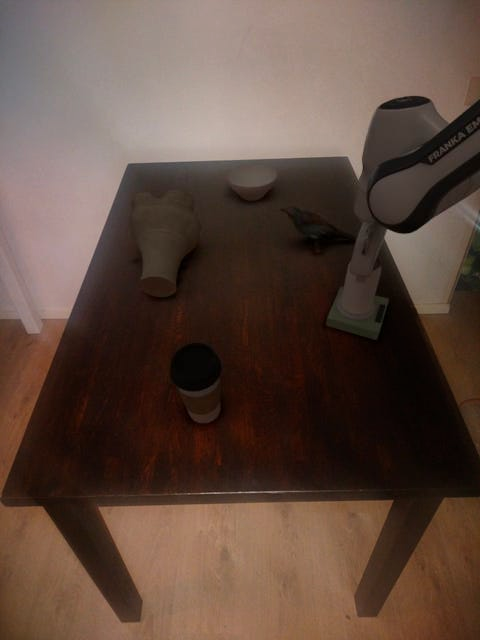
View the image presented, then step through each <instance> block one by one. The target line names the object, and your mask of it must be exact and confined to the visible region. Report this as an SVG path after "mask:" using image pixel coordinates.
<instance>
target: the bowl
mask: <svg viewBox="0 0 480 640" xmlns="http://www.w3.org/2000/svg"><path fill="white" fill-rule="evenodd" d="M277 178H278V171H277V170H276V169H275V168H274V167H273V166H270V165H268V164H264V163H253V162H252V163H243V164H239V165H236V166H234V167H232V168H231V169H229V171H227V173H226V180H227V183H228V185H229V186H230V188H231V189H232V190H233V191H234V192H235V193H236V194H237V195H239V196H240V198H242V200H245V201H250V202H254V201H259V200H261V199H262V198H264V196H265V195H266V194H267V192H269V191H270V190H272V188H273V186H274V185H275V184H276V182H277Z"/></svg>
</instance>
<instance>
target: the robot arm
mask: <svg viewBox="0 0 480 640" xmlns="http://www.w3.org/2000/svg"><path fill="white" fill-rule="evenodd" d="M367 127H368V128H367V130H366V135H365V139H364V145H363V150H362V155H361V164H362V165H361V166H362V170H361V173H360V175H359V177H358V179H357V184H356V190H355V196H354V202H353V207H352V210H353V213H354V214H355V216H356V217H357V218H358V220H359V222H360V223H361V227H360V229H359V231H358V234H357V236H356V237H357V239H356V240H355V243H354V247H353V252H352V256H351V260H350V262H351V264H350V273H351V274H354V275H356V281H357V282H359V283H365V281H366V278H367V277H369V276H370V275H371V272H372V270H373V267H374V264H375V262H376V259H377V257H378V256H379V253H380V250H381V248H382V245H383V242H384V240H385V237H386V234H387V231H391V232H393V233H396V234H400V235H406V234H407V235H409V234H411V233H415V232H416V231H418V230H419V229H421V228H422V227H424V226H425V225H426V224H428V223H430V221H431V220H432V219H433V220H434V218H436V217H437V216H439V215H440V214H442V213H444V212H446V211H448V210H449V209H451V208H452V207H454V206H455V205H457V204H458V203H461V202H462V201H464V200H466V199H467V198H468V197H470V196H471V195H472V194H474V193H476V192H477V191H478V190H480V98H479V99H478V100H476V101H475V102H474V103H473V104H472V105H470V107H468V108H467V109H466V110H464V111H463V112H462V113H460V115H458V116H457V117H456V118H455V119H453V120H452V121H451V122H448V121H447V120H446V119H445V118H444V117H443V116H442V115H441V114H440V113H439V112H438V110H437V108H436V106H435V103H434V101H432V99H430V98H428V97H426V96H423V95H406V96H401V97H395V98H392V99H390V100H387V101H385V102H383V103H381V104H379V105H378V106H377V107H376V109H375V110H374V112H373V114H372V116H371V118H370V121H369V124H368V126H367Z"/></svg>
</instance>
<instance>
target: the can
mask: <svg viewBox="0 0 480 640" xmlns="http://www.w3.org/2000/svg"><path fill="white" fill-rule="evenodd" d="M350 264H351V261H349V263H348V265H347V269H346V275H345V279H344V284H343V287H344V289H343V294H342V299H341V305H342V307H343V308H344V309H345V310H346V311H347V312H348V313H351V314H354V315H361V314H365V313H367V312H368V311H369V310H370V309H371V306H372V303H373V300H374V296H375V295H376V293H377V289H378V285H379V281H380V278H381V274H382V261H381V259H380V258H379V257H378V256H377V259H376V262H375V264H374V267H373V270H372V272H371V275H370V276H369V277H367V278H366V281H365V283H359V282H357V281H356V275H354V274H351V273H350Z"/></svg>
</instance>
